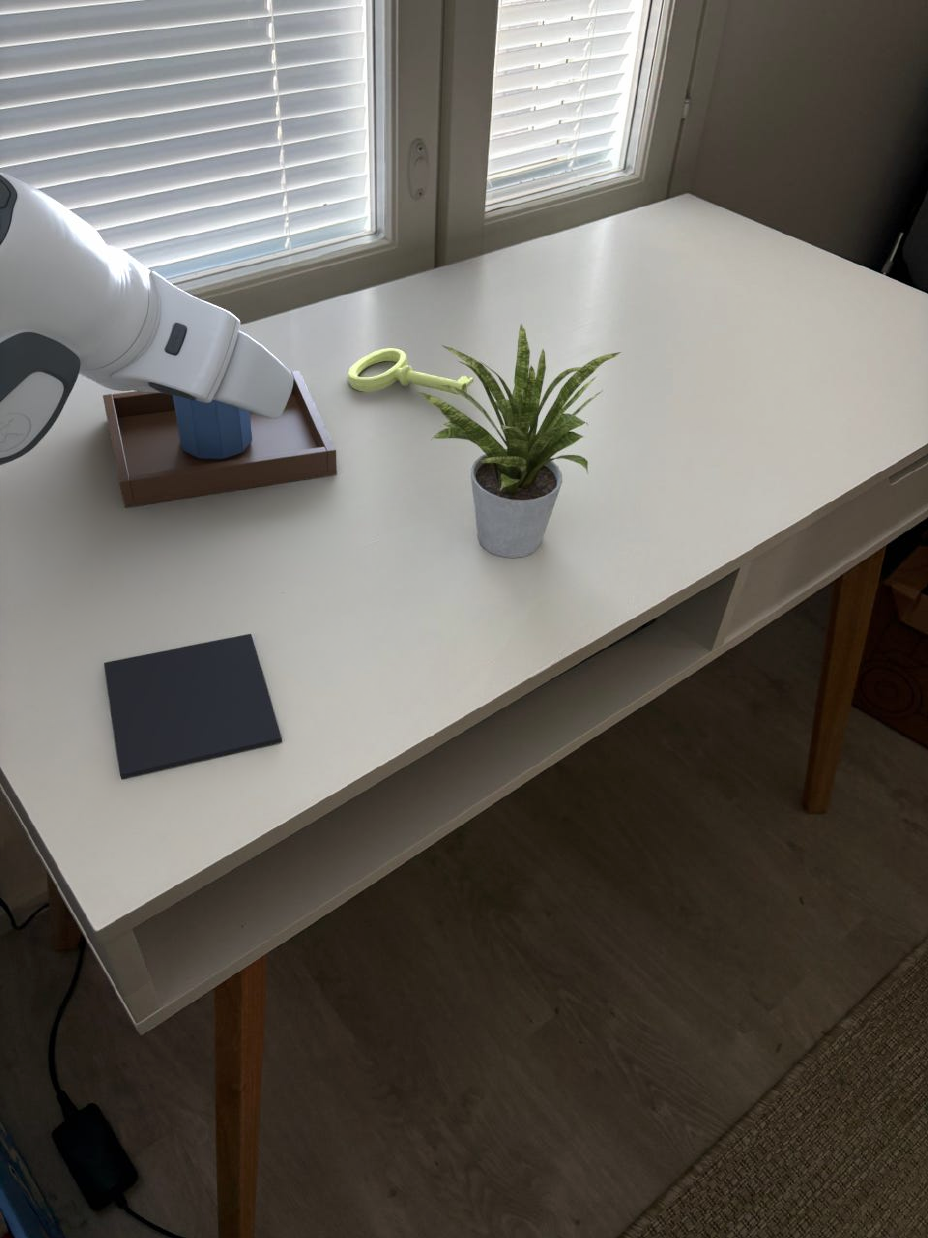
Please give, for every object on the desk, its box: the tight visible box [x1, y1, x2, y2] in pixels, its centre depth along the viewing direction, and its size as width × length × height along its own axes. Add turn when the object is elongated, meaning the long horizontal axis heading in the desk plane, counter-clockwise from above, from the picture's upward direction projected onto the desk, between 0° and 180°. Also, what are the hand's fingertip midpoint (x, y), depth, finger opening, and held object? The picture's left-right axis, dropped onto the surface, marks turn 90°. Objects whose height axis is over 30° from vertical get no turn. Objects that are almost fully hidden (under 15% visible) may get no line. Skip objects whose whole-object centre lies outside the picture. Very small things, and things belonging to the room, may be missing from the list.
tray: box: [102, 370, 338, 508], centre depth 88 cm, size 18×14×2 cm
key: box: [347, 347, 474, 396], centre depth 98 cm, size 7×12×2 cm, turn 80°
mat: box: [103, 633, 283, 780], centre depth 67 cm, size 10×10×1 cm
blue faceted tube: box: [173, 395, 252, 459], centre depth 85 cm, size 6×6×9 cm
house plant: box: [418, 323, 623, 559], centre depth 77 cm, size 14×14×16 cm
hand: (215, 385), depth 85 cm, fingers closed on blue faceted tube, 6 cm apart
